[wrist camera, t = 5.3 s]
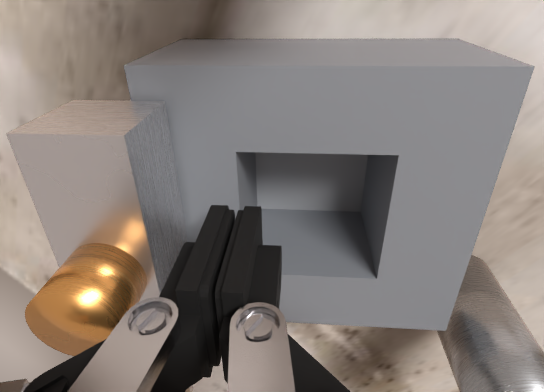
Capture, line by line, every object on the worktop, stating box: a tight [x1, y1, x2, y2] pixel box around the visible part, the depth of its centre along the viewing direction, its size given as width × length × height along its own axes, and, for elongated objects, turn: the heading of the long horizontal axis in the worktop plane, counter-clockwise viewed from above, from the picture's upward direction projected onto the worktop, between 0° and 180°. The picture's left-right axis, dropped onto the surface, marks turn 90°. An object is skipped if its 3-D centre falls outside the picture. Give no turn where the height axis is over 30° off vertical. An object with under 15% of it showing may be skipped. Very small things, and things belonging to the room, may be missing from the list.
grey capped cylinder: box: [437, 255, 544, 392], centre depth 18 cm, size 5×5×10 cm
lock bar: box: [6, 100, 188, 356], centre depth 12 cm, size 3×9×5 cm, turn 1°
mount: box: [124, 39, 534, 331], centre depth 16 cm, size 12×11×6 cm
